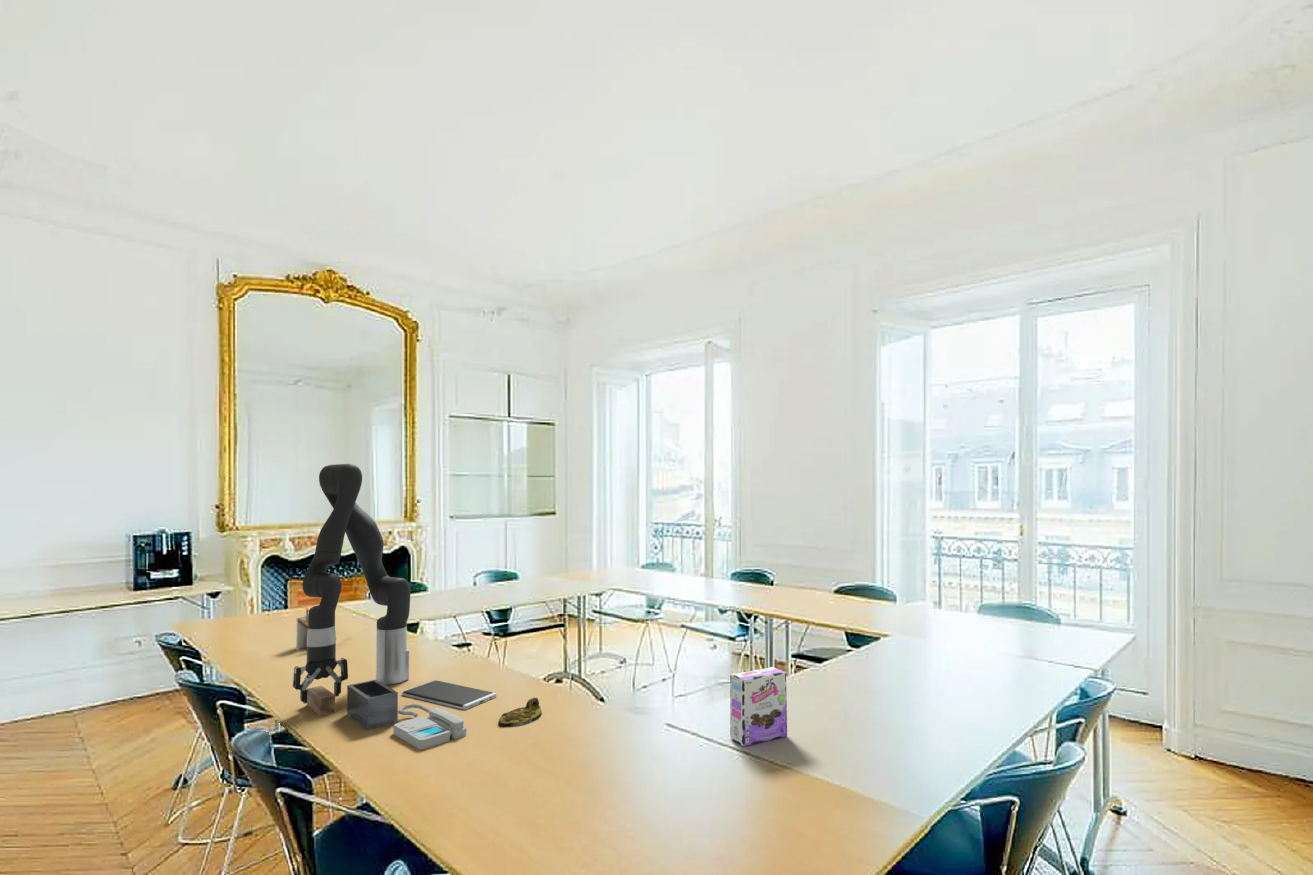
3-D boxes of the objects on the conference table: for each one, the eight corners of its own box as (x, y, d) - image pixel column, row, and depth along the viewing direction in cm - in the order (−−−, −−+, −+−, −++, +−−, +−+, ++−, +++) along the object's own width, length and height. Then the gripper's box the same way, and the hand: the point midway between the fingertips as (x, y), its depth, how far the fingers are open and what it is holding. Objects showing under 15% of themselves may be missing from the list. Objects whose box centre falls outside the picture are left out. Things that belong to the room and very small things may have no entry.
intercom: (421, 697, 198) (468, 718, 180) (421, 712, 197) (468, 735, 180) (375, 709, 188) (420, 733, 171) (375, 725, 188) (420, 751, 171)
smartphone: (464, 712, 198) (464, 706, 198) (400, 696, 212) (400, 691, 212) (497, 698, 210) (497, 692, 210) (434, 684, 223) (434, 679, 223)
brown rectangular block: (321, 702, 206) (321, 685, 206) (335, 713, 197) (335, 695, 198) (307, 706, 204) (307, 688, 204) (320, 716, 195) (320, 698, 195)
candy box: (743, 747, 170) (742, 679, 171) (729, 739, 176) (728, 673, 176) (788, 737, 177) (787, 671, 178) (774, 729, 182) (773, 665, 183)
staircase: (296, 651, 265) (296, 607, 266) (314, 644, 276) (315, 601, 276) (316, 652, 264) (317, 608, 264) (334, 644, 274) (335, 602, 275)
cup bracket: (375, 707, 201) (376, 679, 201) (397, 722, 189) (397, 692, 190) (347, 714, 196) (347, 685, 196) (367, 730, 184) (367, 699, 184)
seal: (514, 735, 183) (550, 716, 196) (515, 717, 183) (552, 700, 196) (488, 724, 188) (525, 707, 201) (489, 707, 188) (526, 691, 200)
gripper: (342, 636, 209) (342, 690, 208) (290, 644, 199) (290, 701, 199) (351, 640, 203) (350, 696, 203) (298, 649, 194) (297, 708, 193)
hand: (320, 699), depth 201 cm, fingers open, 8 cm apart
